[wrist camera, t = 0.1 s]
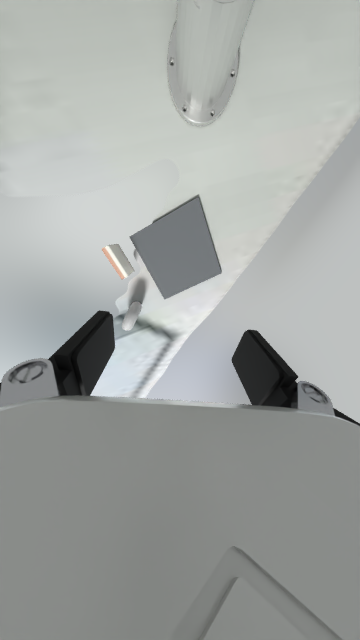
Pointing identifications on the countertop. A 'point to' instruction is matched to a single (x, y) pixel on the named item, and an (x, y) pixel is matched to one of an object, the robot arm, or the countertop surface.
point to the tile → (118, 260)
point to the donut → (131, 315)
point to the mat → (178, 249)
